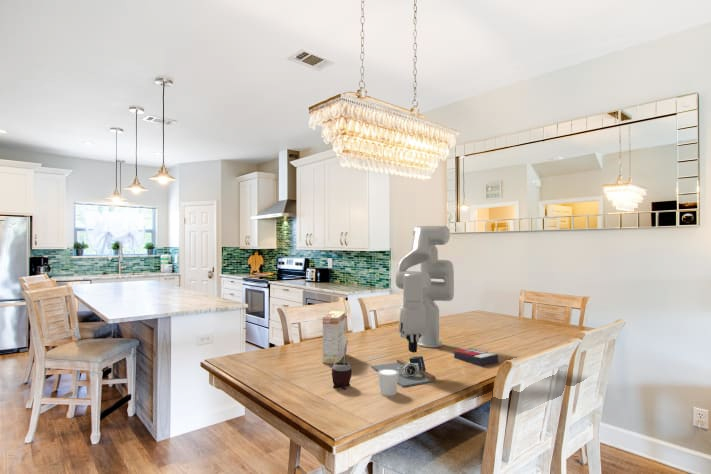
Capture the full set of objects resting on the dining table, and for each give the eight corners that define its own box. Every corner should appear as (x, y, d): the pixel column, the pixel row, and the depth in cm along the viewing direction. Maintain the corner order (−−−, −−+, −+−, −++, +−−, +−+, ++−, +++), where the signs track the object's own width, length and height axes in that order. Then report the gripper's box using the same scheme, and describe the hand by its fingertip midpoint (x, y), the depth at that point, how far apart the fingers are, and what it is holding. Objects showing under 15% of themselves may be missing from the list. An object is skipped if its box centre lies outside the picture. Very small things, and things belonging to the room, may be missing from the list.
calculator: (470, 346, 178) (498, 352, 166) (470, 356, 178) (498, 363, 166) (453, 350, 172) (481, 356, 160) (454, 360, 172) (481, 367, 160)
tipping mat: (371, 367, 158) (371, 363, 158) (400, 363, 164) (400, 358, 164) (402, 387, 137) (402, 382, 137) (435, 381, 142) (435, 376, 142)
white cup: (400, 390, 134) (400, 369, 134) (395, 397, 127) (395, 376, 127) (381, 387, 136) (381, 367, 136) (375, 395, 130) (375, 373, 130)
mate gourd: (335, 391, 132) (336, 347, 133) (328, 383, 140) (328, 341, 140) (355, 388, 135) (356, 345, 136) (347, 381, 143) (347, 340, 143)
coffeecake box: (331, 353, 179) (331, 310, 179) (346, 354, 177) (346, 311, 178) (321, 362, 164) (321, 316, 164) (338, 364, 163) (338, 317, 163)
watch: (429, 370, 150) (411, 379, 143) (414, 370, 156) (395, 379, 148) (426, 355, 151) (407, 364, 143) (410, 356, 157) (392, 364, 149)
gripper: (423, 302, 159) (423, 347, 159) (391, 304, 153) (391, 351, 153) (434, 304, 153) (434, 351, 152) (401, 307, 146) (401, 356, 146)
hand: (412, 351), depth 153 cm, fingers closed
